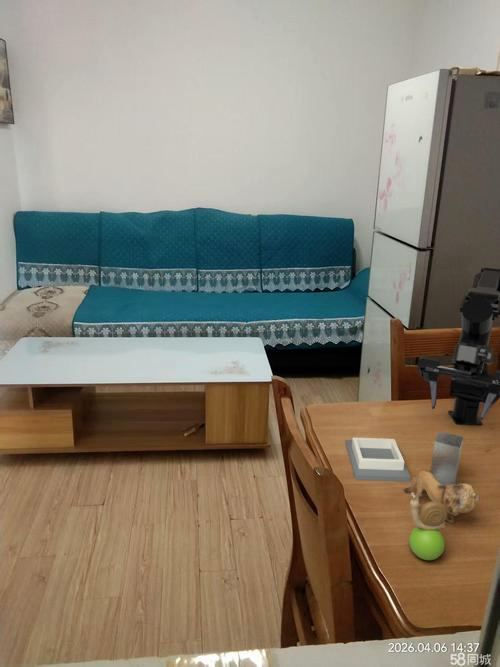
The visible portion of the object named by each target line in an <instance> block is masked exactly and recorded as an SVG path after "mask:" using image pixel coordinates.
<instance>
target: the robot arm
mask: <svg viewBox="0 0 500 667" xmlns="http://www.w3.org/2000/svg"><path fill="white" fill-rule="evenodd" d="M459 313H460V314H461V319H460V320H461V324H460V325H461V332H460V336H459V340H458V343H457V344H455V347H454V348H455V349H454V351H453V355H452V360H451V365H452V367H450V366H447V365H443V364H442V365H441V362H440V361H441V359H440V358H434V357H429V356H424V355H423V356H421V357H420V358H419V359H418V362H417V366H416V367H417V372H418V376H419V377H421V378H422V379H423V381H424V382H426V383H428V384H429V389H430V398H431V399H430V400H431V408H432V410H435V409H436V408H435V407H436V405H437V399H438V398H437V397H438V389H439V382H440V381H439V376H446V377H450V378H451V380H450V388H449V397H455V398H454V405H453V410H448V411H447V414H448V415H449V416H450V418H451V419H452V420H453V422H454V424H455V425H465V426H466V425H467V426H469V425H470V426H483V422H482V421H483V420H484V419H485V417H486V416H487V414H488V412H489V411H490V410H491V409H492V407H493V406H494V404H496V403H497V402H498V401H499V400H500V370H498V369H496V370H495V374H494V375H492V374H489V365H488V364H489V363H491V362H492V357H493V354H494V353H493V352H494V346H492V345H489V342H490V337H491V332H492V325H493V321H495V320H496V319H499V317H500V268H498V267H497V268H496V267H488V266H485V267H481V269H480V272H478V273H477V274H474V277H473V279H472V286H471V288H469V290H468V291H467V294H464V296H463V298H462V301H461V303H460V306H459ZM487 363H488V364H487ZM481 403H482V404H484V405H483V406H482V409H481V413H480V418H479V410H480V406H481Z"/></svg>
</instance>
